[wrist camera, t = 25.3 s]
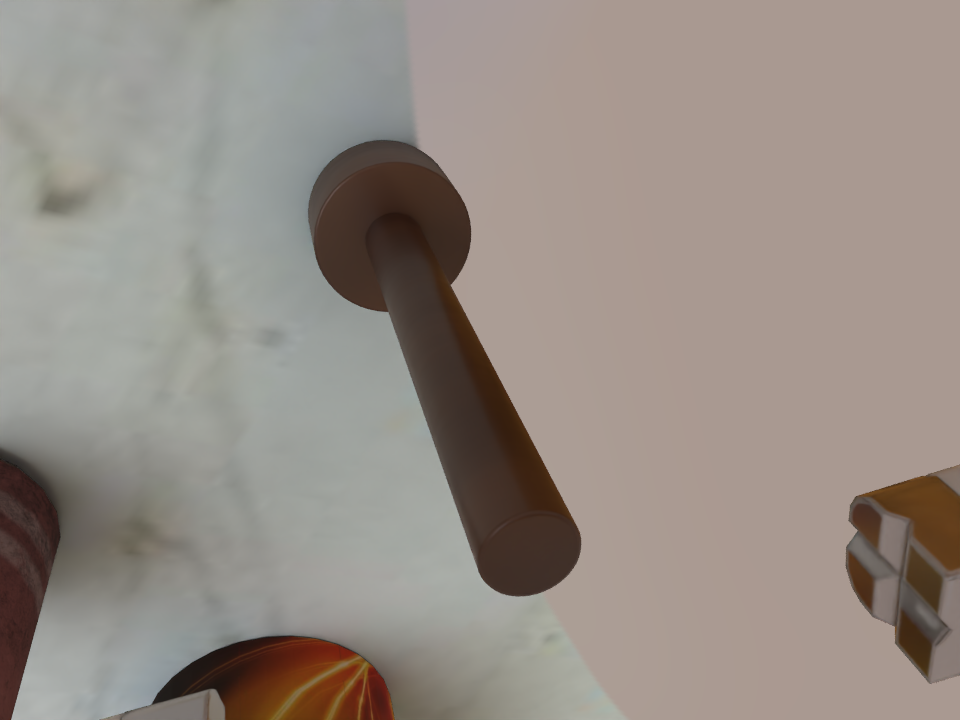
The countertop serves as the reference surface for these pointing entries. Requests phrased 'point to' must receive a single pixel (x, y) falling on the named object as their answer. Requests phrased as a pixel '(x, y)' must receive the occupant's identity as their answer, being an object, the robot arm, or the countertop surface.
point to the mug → (286, 681)
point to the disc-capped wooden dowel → (443, 353)
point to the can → (22, 572)
